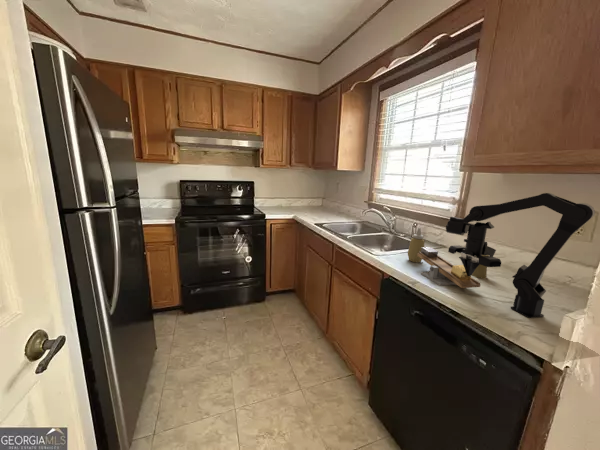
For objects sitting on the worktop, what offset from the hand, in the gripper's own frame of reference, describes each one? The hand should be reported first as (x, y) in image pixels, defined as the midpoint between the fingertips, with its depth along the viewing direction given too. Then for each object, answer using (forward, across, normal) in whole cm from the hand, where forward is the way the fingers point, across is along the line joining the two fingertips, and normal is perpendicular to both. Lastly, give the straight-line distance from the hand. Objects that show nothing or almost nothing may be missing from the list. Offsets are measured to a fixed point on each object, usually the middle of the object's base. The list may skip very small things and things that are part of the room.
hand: (468, 276), depth 101 cm
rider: (+2, +4, 0) cm, 5 cm away
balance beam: (+1, +12, 0) cm, 12 cm away
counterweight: (-1, +23, 0) cm, 23 cm away
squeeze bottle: (+6, +35, -2) cm, 36 cm away
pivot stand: (+6, +12, 0) cm, 14 cm away
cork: (+6, +13, -20) cm, 25 cm away
